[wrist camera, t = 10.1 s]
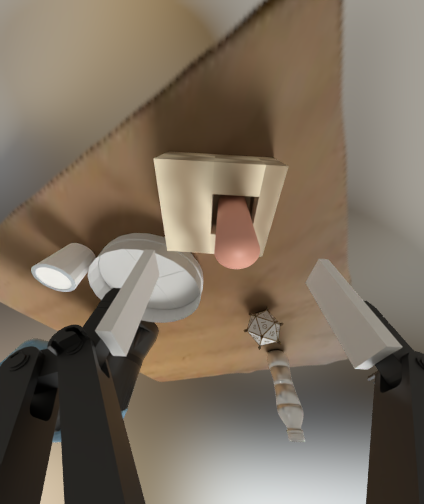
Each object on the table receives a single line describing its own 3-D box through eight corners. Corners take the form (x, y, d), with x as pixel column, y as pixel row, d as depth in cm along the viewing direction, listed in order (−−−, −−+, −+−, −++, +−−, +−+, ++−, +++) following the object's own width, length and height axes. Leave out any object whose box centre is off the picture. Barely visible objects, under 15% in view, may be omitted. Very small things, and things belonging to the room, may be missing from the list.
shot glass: (82, 236, 31) (51, 260, 25) (106, 263, 35) (84, 289, 29) (54, 244, 33) (20, 268, 27) (80, 269, 36) (55, 295, 31)
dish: (143, 311, 46) (136, 329, 42) (78, 251, 34) (59, 268, 30) (218, 294, 40) (218, 313, 36) (171, 215, 28) (163, 229, 24)
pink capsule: (217, 215, 26) (213, 267, 16) (219, 188, 23) (215, 230, 14) (243, 217, 25) (255, 270, 16) (247, 190, 23) (265, 234, 13)
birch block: (176, 230, 29) (167, 250, 24) (168, 151, 22) (153, 158, 17) (255, 235, 29) (262, 256, 24) (273, 157, 22) (288, 166, 17)
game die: (256, 304, 47) (248, 342, 44) (244, 298, 41) (234, 341, 38) (290, 314, 42) (283, 357, 39) (282, 308, 35) (273, 359, 32)
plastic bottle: (270, 346, 54) (290, 438, 38) (289, 349, 55) (317, 441, 39) (262, 354, 58) (277, 440, 42) (280, 356, 58) (303, 443, 42)
